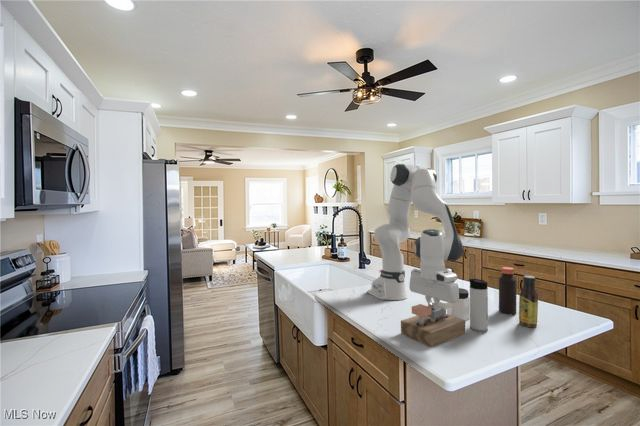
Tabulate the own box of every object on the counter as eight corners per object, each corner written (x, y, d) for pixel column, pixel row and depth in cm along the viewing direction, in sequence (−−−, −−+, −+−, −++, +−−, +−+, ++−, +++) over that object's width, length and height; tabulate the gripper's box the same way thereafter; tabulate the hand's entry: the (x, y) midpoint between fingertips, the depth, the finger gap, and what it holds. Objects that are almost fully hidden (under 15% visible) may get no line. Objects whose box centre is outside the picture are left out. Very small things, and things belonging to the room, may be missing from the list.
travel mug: (465, 326, 126) (465, 277, 126) (481, 326, 127) (481, 276, 126) (474, 333, 120) (474, 281, 119) (491, 332, 121) (491, 280, 120)
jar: (460, 323, 130) (460, 294, 130) (443, 317, 137) (443, 290, 137) (473, 318, 135) (473, 290, 135) (455, 312, 142) (455, 286, 142)
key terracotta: (411, 326, 118) (411, 306, 118) (420, 323, 121) (420, 304, 121) (422, 330, 114) (422, 310, 114) (431, 327, 117) (431, 307, 116)
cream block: (434, 318, 125) (434, 300, 125) (442, 316, 128) (442, 297, 128) (445, 322, 121) (445, 303, 121) (453, 319, 124) (453, 300, 123)
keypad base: (401, 333, 122) (400, 320, 121) (434, 321, 132) (434, 310, 132) (431, 347, 110) (431, 333, 110) (465, 333, 121) (465, 320, 120)
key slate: (423, 327, 122) (423, 308, 122) (431, 324, 125) (431, 305, 124) (434, 331, 118) (434, 311, 117) (442, 328, 120) (442, 309, 120)
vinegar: (500, 314, 139) (500, 269, 138) (497, 309, 146) (497, 266, 145) (518, 315, 137) (518, 270, 136) (514, 310, 143) (514, 267, 142)
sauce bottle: (515, 322, 130) (515, 274, 129) (530, 321, 130) (531, 274, 129) (525, 328, 124) (525, 278, 123) (541, 328, 123) (541, 278, 123)
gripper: (405, 268, 127) (406, 302, 128) (450, 278, 110) (450, 318, 111) (416, 266, 131) (416, 299, 131) (461, 276, 113) (461, 314, 114)
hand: (432, 308), depth 121 cm, fingers closed
